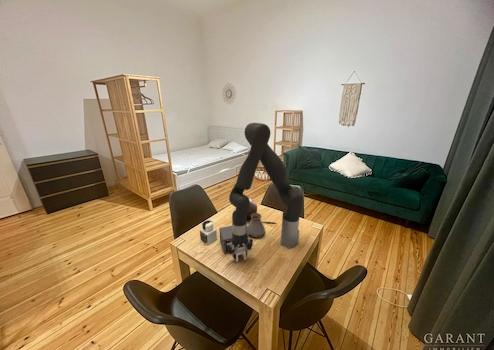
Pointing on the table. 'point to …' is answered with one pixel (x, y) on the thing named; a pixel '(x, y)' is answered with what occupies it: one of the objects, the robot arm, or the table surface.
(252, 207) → the wooden sphere
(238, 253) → the long white plank
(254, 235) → the coffee pot
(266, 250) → the table surface
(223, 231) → the shelf
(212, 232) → the medicine bottle
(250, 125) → the robot arm
